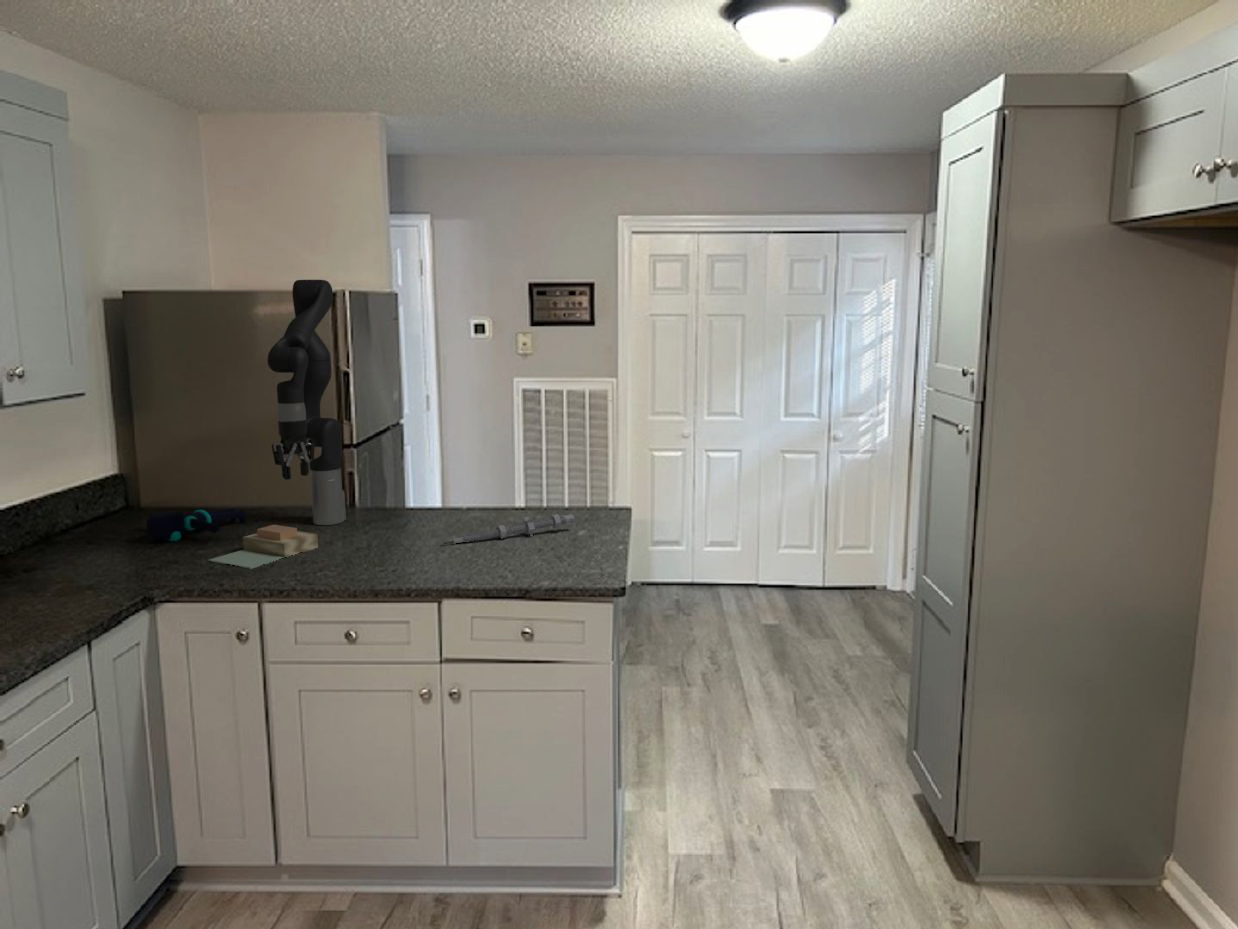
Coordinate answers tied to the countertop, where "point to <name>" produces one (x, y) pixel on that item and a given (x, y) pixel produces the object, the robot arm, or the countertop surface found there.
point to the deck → (281, 544)
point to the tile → (277, 532)
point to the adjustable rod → (517, 528)
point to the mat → (246, 559)
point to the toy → (188, 522)
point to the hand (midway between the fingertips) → (295, 477)
